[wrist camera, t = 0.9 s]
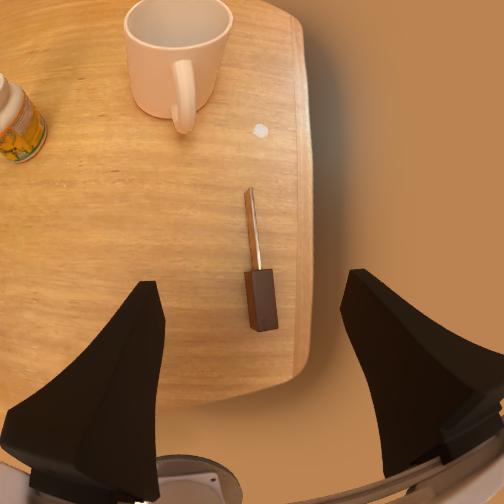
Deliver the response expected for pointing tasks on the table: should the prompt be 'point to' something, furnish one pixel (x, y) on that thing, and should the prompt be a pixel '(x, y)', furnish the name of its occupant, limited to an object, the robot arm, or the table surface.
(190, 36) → the mug
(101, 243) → the table surface
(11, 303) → the table surface
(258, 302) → the knife
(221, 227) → the table surface
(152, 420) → the robot arm
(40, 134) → the supplement bottle
